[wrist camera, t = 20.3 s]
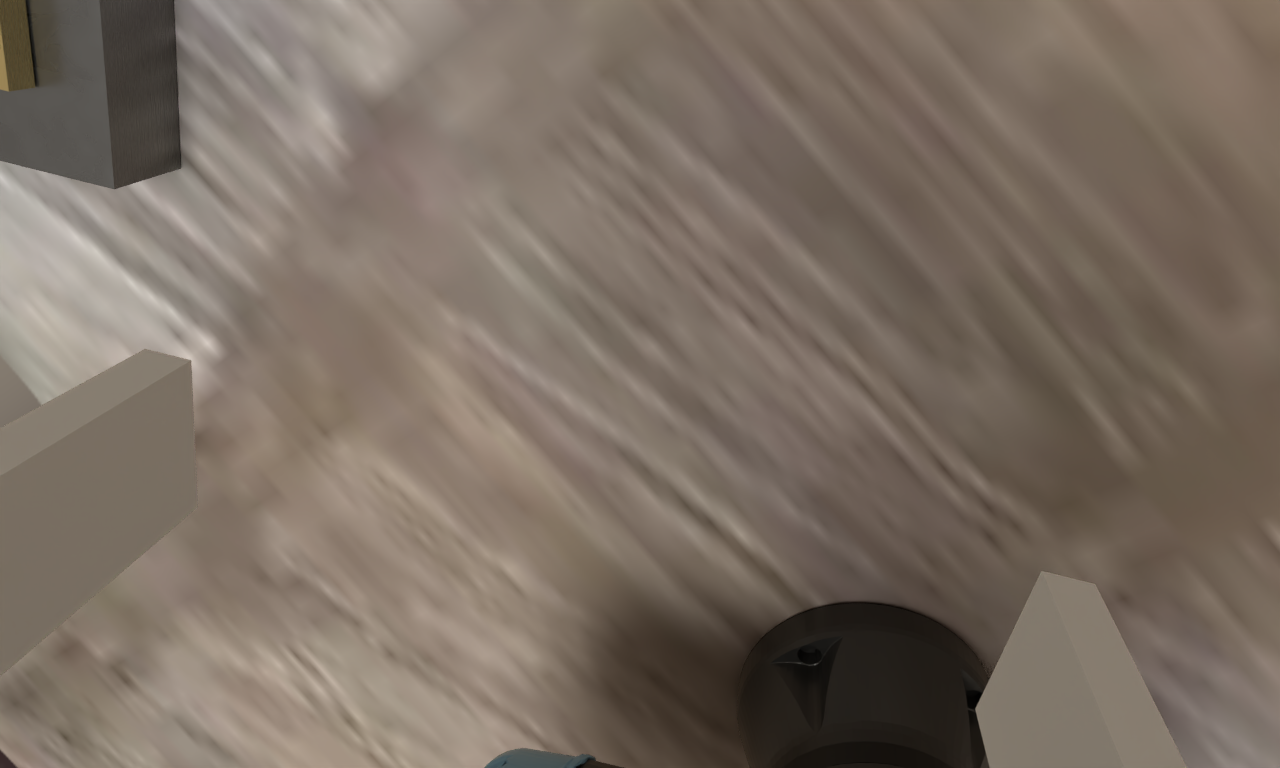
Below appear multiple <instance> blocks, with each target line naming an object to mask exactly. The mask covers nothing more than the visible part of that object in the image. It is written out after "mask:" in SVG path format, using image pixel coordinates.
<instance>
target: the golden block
mask: <svg viewBox="0 0 1280 768" xmlns="http://www.w3.org/2000/svg"><path fill="white" fill-rule="evenodd" d="M30 88H35V80H34V71H33V63H32V54H31V45H30V37H29V28H28V19H27V11H26V2H25V0H0V90H5V91H16V90H23V89H30Z"/></svg>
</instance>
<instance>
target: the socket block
mask: <svg viewBox="0 0 1280 768" xmlns="http://www.w3.org/2000/svg"><path fill="white" fill-rule="evenodd" d="M25 2H26V11H27V19H28V28H29V37H30V45H31V54H32V63H33V71H34V80H35V88H30V89H23V90H16V91H5V90H0V161H4V162H8V163H12V164H16V165H20V166H24V167H28V168H32V169H36V170H40V171H44V172H48V173H52V174H56V175H60V176H64V177H68V178H72V179H76V180H80V181H84V182H88V183H92V184H96V185H100V186H104V187H108V188H112V189H117V188H120V187H123V186H126V185H129V184H133V183H136V182H139V181H142V180H145V179H149V178H152V177H155V176H158V175H161V174H165V173H168V172H171V171H174V170H177V169H181V163H180V140H179V117H178V94H177V72H176V49H175V26H174V3H173V0H25Z"/></svg>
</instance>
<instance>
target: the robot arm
mask: <svg viewBox="0 0 1280 768" xmlns="http://www.w3.org/2000/svg"><path fill="white" fill-rule="evenodd" d="M197 507H198V495H197V474H196V453H195V432H194V412H193V391H192V370H191V360H188V359H184V358H179V357H175V356H171V355H167V354H163V353H159V352H155V351H151V350H147V349H144V350H142V351H141V352H139V353H137V354H135V355H133V356H131V357H130V358H128V359H126V360H124V361H122V362H120V363H119V364H117V365H115V366H113V367H111V368H109V369H108V370H106V371H104V372H102V373H100V374H98V375H97V376H95V377H93V378H91V379H89V380H87V381H86V382H84V383H82V384H80V385H78V386H76V387H75V388H73V389H71V390H69V391H67V392H65V393H64V394H62V395H60V396H58V397H56V398H54V399H53V400H51V401H49V402H47V403H45V404H44V405H42V406H40V407H38V408H36V409H34V410H33V411H31V412H29V413H27V414H25V415H24V416H22V417H20V418H18V419H16V420H14V421H12V422H11V423H9V424H7V425H5V426H3V427H2V428H0V676H1V675H3V674H4V673H5V672H6V671H7V670H8V669H10V668H11V667H12V666H13V665H14V664H15V663H17V662H18V661H19V660H20V659H21V658H22V657H24V656H25V655H26V654H27V653H28V652H29V651H31V650H32V649H33V648H34V647H35V646H36V645H38V644H39V643H40V642H41V641H42V640H43V639H45V638H46V637H47V636H48V635H49V634H50V633H52V632H53V631H54V630H55V629H56V628H57V627H59V626H60V625H61V624H62V623H63V622H64V621H66V620H67V619H68V618H69V617H70V616H71V615H73V614H74V613H75V612H76V611H77V610H78V609H80V608H81V607H82V606H83V605H84V604H85V603H87V602H88V601H89V600H90V599H91V598H92V597H94V596H95V595H96V594H97V593H98V592H99V591H101V590H102V589H103V588H104V587H105V586H106V585H108V584H109V583H110V582H111V581H112V580H113V579H115V578H116V577H117V576H118V575H119V574H120V573H122V572H123V571H124V570H125V569H126V568H127V567H129V566H130V565H131V564H132V563H133V562H134V561H136V560H137V559H138V558H139V557H140V556H141V555H143V554H144V553H145V552H146V551H147V550H148V549H150V548H151V547H152V546H153V545H154V544H155V543H157V542H158V541H159V540H160V539H161V538H162V537H164V536H165V535H166V534H167V533H168V532H169V531H171V530H172V529H173V528H174V527H175V526H176V525H178V524H179V523H180V522H181V521H182V520H183V519H185V518H186V517H187V516H188V515H189V514H190V513H192V512H193V511H194V510H195V509H196V508H197ZM737 720H738V728H739V734H740V738H741V741H742V744H743V747H744V751H745V754H746V757H747V760H748V763H749V766H750V768H1187V767H1186V765H1185V763H1184V761H1183V759H1182V757H1181V755H1180V753H1179V751H1178V749H1177V747H1176V745H1175V743H1174V741H1173V739H1172V737H1171V735H1170V733H1169V731H1168V729H1167V727H1166V725H1165V723H1164V721H1163V719H1162V717H1161V715H1160V713H1159V711H1158V709H1157V707H1156V705H1155V703H1154V701H1153V699H1152V697H1151V695H1150V693H1149V691H1148V689H1147V687H1146V685H1145V683H1144V681H1143V679H1142V677H1141V675H1140V673H1139V671H1138V669H1137V667H1136V665H1135V663H1134V661H1133V659H1132V657H1131V655H1130V653H1129V651H1128V649H1127V647H1126V645H1125V643H1124V641H1123V639H1122V637H1121V635H1120V633H1119V631H1118V629H1117V627H1116V625H1115V623H1114V621H1113V619H1112V617H1111V615H1110V613H1109V611H1108V609H1107V607H1106V605H1105V603H1104V601H1103V599H1102V597H1101V595H1100V593H1099V591H1098V589H1097V587H1096V585H1095V584H1094V583H1089V582H1085V581H1081V580H1077V579H1073V578H1069V577H1065V576H1061V575H1057V574H1053V573H1049V572H1045V571H1041V573H1040V575H1039V577H1038V579H1037V581H1036V583H1035V585H1034V587H1033V590H1032V592H1031V594H1030V596H1029V598H1028V600H1027V602H1026V604H1025V606H1024V608H1023V610H1022V613H1021V615H1020V617H1019V619H1018V621H1017V623H1016V625H1015V627H1014V629H1013V631H1012V633H1011V635H1010V638H1009V640H1008V642H1007V644H1006V646H1005V648H1004V650H1003V652H1002V654H1001V656H1000V658H999V661H998V663H997V665H996V667H995V669H994V671H993V673H992V675H991V677H990V679H988V677H987V674H986V672H985V670H984V668H983V666H982V664H981V663H980V661H979V660H978V658H977V657H976V655H975V654H974V653H973V652H972V650H971V649H970V648H969V647H968V646H967V645H966V644H965V643H964V642H963V641H962V640H961V639H960V638H958V637H957V636H956V635H955V634H953V633H952V632H951V631H949V630H948V629H946V628H945V627H943V626H941V625H940V624H938V623H936V622H934V621H932V620H930V619H928V618H926V617H924V616H921V615H919V614H916V613H913V612H910V611H907V610H903V609H899V608H895V607H890V606H884V605H877V604H863V603H860V604H840V605H832V606H827V607H822V608H818V609H814V610H811V611H808V612H805V613H802V614H799V615H797V616H795V617H793V618H791V619H789V620H787V621H785V622H783V623H781V624H780V625H778V626H777V627H775V628H774V629H773V630H771V631H770V632H769V633H768V634H767V635H765V636H764V637H763V638H762V639H761V640H760V641H759V642H758V644H757V645H756V646H755V647H754V649H753V650H752V651H751V653H750V655H749V656H748V658H747V660H746V662H745V664H744V667H743V669H742V673H741V677H740V682H739V693H738V705H737ZM485 768H624V767H619V766H615V765H610V764H606V763H602V762H598V761H596V759H595V757H593V756H590V755H585V754H582V755H579V756H576V757H575V756H569V755H563V754H557V753H551V752H545V751H539V750H533V749H527V748H520V749H514V750H510V751H507V752H505V753H502V754H501V755H499V756H497V757H496V758H495V759H493V760H492V761H491V762H490V763H488V764H487V765H486V767H485Z"/></svg>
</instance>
